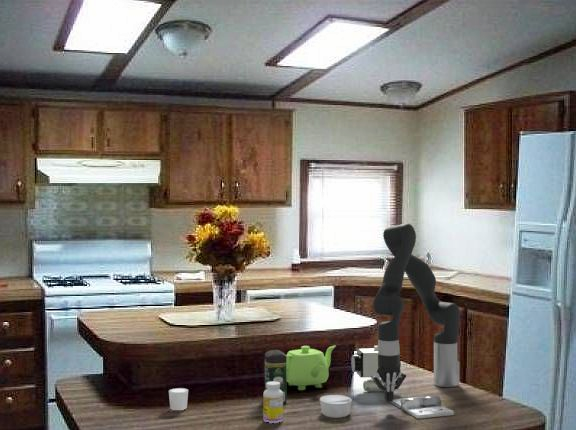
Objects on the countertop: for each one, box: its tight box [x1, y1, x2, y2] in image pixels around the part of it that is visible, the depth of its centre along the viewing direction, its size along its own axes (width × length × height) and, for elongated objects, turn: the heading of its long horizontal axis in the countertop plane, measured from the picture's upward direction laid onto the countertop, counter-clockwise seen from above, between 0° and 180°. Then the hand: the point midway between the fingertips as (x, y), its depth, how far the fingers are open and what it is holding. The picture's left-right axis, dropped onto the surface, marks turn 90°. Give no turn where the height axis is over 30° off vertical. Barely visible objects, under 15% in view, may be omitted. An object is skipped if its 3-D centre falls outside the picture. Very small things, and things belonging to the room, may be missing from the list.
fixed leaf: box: [389, 395, 442, 410], centre depth 255 cm, size 15×12×4 cm
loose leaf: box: [401, 396, 455, 419], centre depth 247 cm, size 14×12×4 cm
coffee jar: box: [264, 349, 288, 404], centre depth 261 cm, size 10×8×19 cm
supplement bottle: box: [262, 381, 284, 424], centre depth 237 cm, size 7×7×13 cm
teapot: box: [285, 345, 337, 391], centre depth 282 cm, size 25×22×16 cm
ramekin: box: [319, 394, 353, 419], centre depth 245 cm, size 11×11×5 cm
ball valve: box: [351, 345, 402, 393], centre depth 275 cm, size 18×8×18 cm, turn 97°
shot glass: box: [168, 387, 189, 410], centre depth 250 cm, size 7×7×7 cm
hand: (389, 401), depth 247 cm, fingers closed
